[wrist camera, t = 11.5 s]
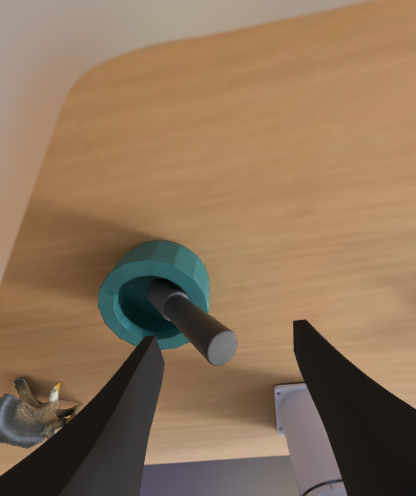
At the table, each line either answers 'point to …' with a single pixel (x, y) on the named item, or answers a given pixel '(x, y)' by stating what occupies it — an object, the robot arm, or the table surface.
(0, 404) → the eagle figurine
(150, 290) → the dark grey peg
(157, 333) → the teal hollow cylinder
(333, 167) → the table surface
